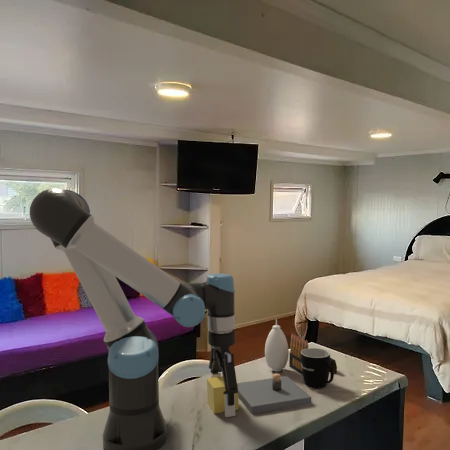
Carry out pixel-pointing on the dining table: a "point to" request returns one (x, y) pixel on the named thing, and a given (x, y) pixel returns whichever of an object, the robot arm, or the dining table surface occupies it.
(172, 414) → the dining table surface
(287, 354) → the air blower bulb
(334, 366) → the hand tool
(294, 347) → the ammunition clip
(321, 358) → the mug
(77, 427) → the dining table surface
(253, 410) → the board
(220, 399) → the mustard yellow cube
